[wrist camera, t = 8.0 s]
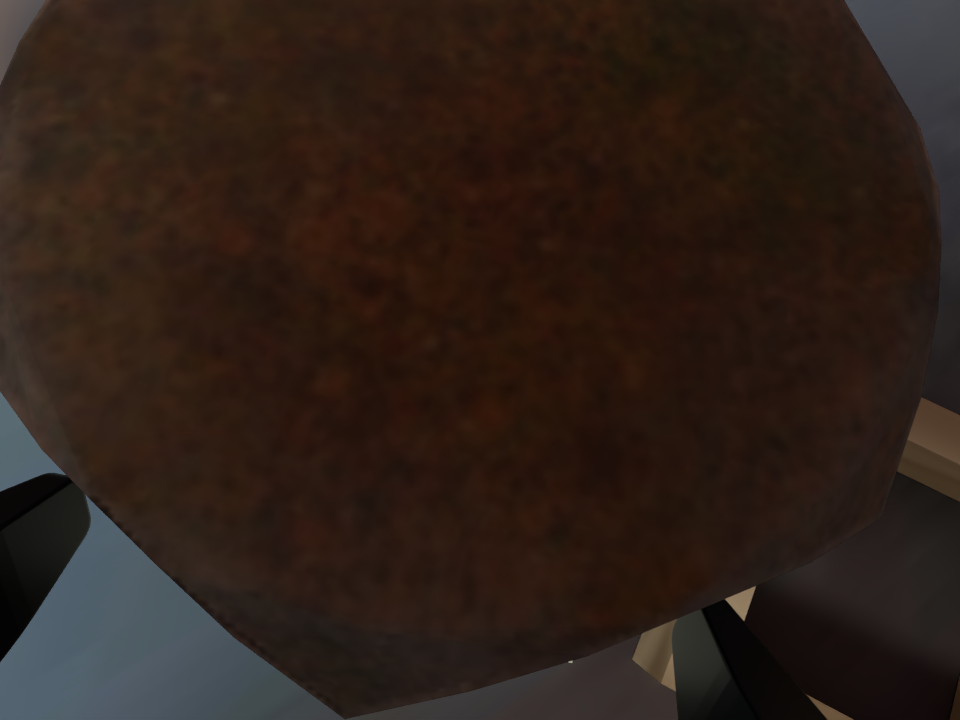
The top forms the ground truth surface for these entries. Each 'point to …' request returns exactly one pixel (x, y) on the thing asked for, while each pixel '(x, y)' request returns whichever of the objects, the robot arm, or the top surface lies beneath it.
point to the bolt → (463, 311)
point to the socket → (926, 458)
